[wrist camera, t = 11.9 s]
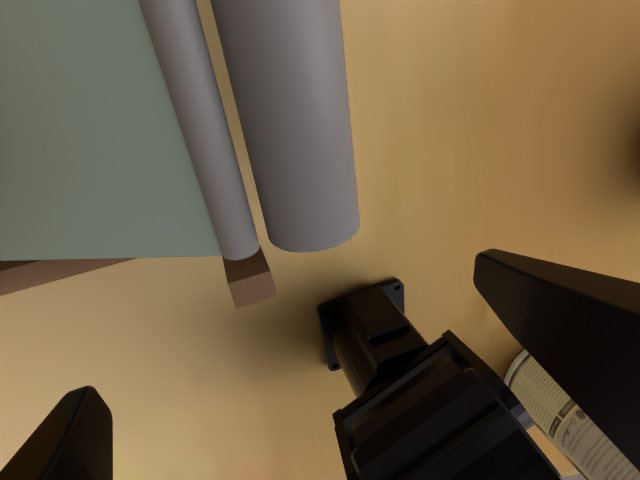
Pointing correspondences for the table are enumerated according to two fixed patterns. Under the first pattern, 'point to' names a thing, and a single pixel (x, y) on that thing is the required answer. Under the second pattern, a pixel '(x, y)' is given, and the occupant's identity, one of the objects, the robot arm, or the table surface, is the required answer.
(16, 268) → the trapdoor frame
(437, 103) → the table surface
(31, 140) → the trapdoor
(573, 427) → the coffee can
